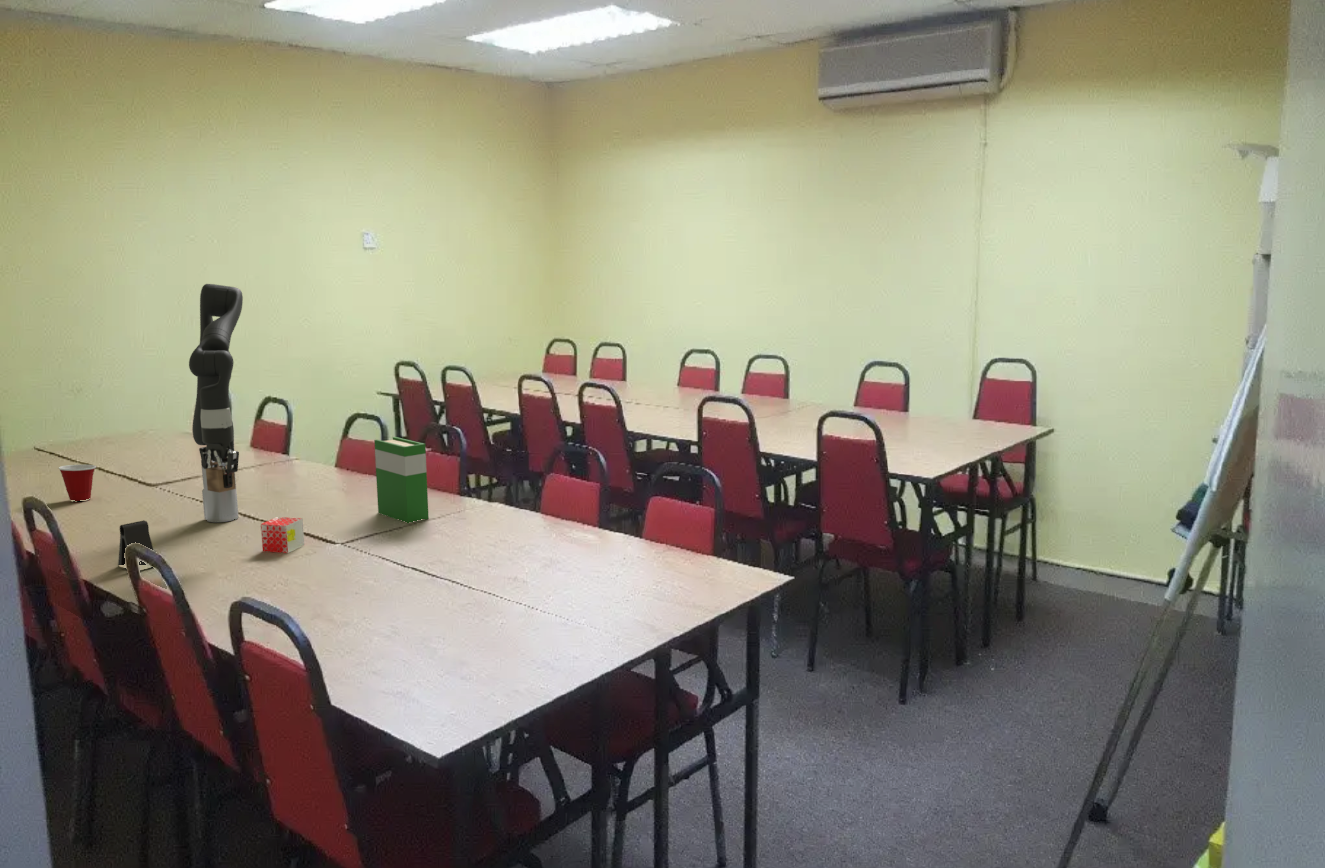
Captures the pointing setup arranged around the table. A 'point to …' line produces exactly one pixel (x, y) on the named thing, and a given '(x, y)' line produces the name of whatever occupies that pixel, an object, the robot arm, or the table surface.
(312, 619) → the table surface
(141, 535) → the black tent stand
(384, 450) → the hardback book
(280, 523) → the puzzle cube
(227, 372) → the robot arm
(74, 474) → the plastic cup
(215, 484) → the walnut block
